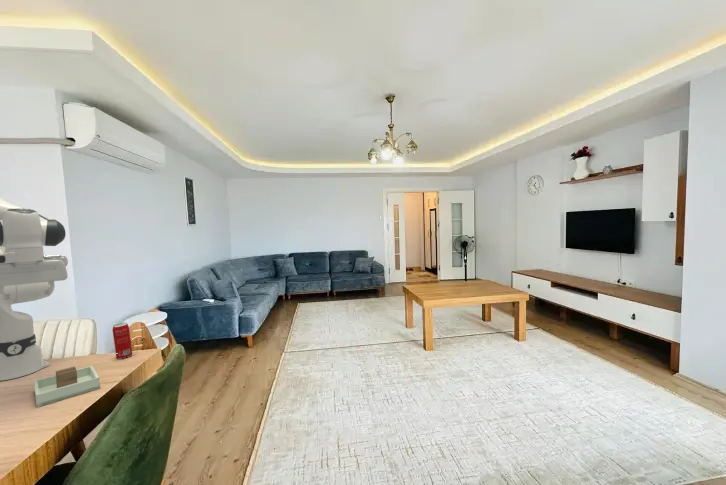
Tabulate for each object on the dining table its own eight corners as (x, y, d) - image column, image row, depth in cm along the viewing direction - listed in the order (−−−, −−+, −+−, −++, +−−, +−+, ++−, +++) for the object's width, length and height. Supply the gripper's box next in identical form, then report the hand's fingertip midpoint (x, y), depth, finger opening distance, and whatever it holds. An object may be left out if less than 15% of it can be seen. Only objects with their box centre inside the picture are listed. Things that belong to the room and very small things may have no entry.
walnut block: (56, 387, 111) (55, 371, 111) (75, 382, 115) (74, 366, 114) (58, 392, 108) (56, 375, 107) (77, 386, 111) (76, 370, 111)
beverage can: (135, 354, 143) (133, 322, 142) (123, 360, 136) (121, 326, 136) (123, 354, 144) (121, 321, 143) (110, 360, 137) (108, 326, 137)
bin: (34, 391, 111) (33, 380, 110) (92, 375, 122) (91, 365, 122) (36, 407, 100) (36, 395, 100) (99, 388, 112) (99, 377, 112)
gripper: (66, 254, 116) (68, 291, 116) (-22, 258, 101) (-18, 301, 101) (68, 254, 112) (70, 293, 112) (-23, 259, 97) (-20, 304, 97)
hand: (27, 297), depth 107 cm, fingers open, 8 cm apart
